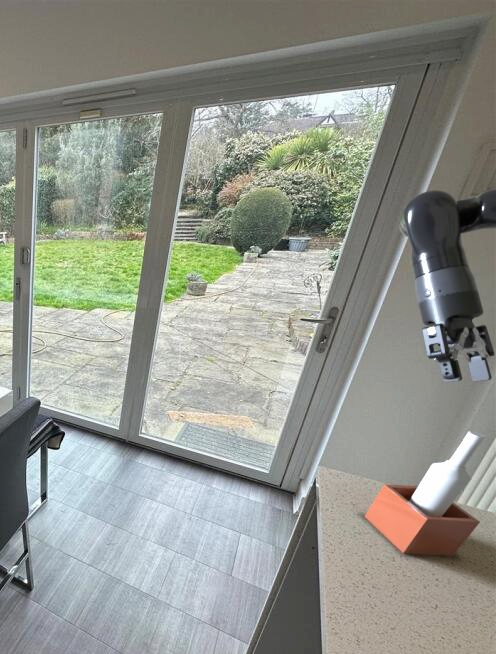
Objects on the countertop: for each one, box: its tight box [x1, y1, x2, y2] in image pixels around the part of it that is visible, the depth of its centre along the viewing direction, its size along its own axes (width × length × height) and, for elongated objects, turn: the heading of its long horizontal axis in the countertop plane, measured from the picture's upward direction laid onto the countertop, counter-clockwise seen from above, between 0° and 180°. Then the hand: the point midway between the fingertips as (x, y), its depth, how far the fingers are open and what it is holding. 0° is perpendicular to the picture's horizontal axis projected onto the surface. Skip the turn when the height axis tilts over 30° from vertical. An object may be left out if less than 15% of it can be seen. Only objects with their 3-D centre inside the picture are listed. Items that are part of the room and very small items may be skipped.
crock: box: [364, 483, 481, 557], centre depth 81 cm, size 10×10×9 cm
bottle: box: [409, 430, 487, 517], centre depth 78 cm, size 5×5×25 cm
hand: (468, 381), depth 74 cm, fingers open, 8 cm apart
